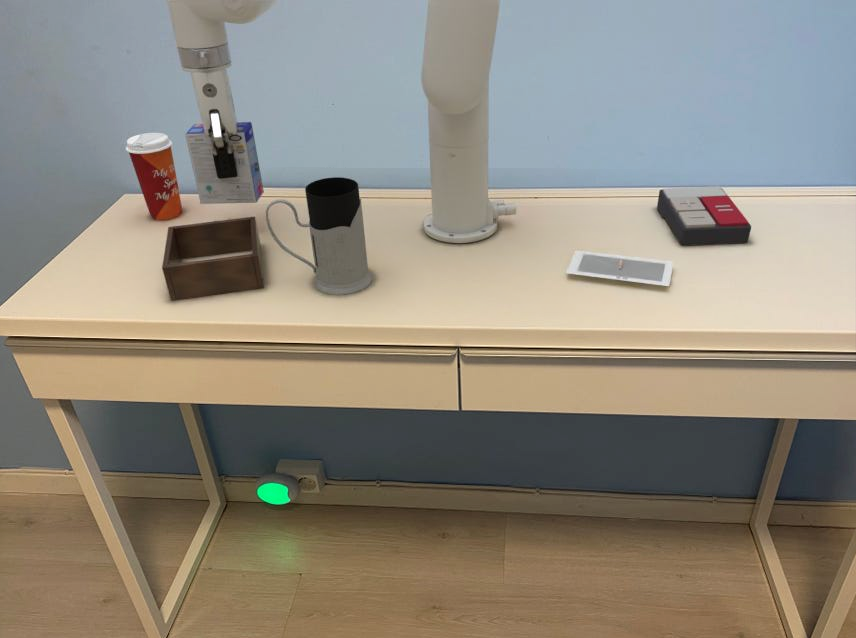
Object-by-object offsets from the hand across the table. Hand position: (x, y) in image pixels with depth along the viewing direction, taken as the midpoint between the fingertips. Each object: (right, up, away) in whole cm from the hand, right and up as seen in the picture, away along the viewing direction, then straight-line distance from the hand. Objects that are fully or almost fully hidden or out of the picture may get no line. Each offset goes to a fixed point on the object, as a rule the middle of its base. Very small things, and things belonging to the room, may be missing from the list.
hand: (227, 168), depth 125 cm
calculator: (+79, -9, +2) cm, 80 cm away
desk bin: (+1, -18, -7) cm, 19 cm away
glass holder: (+18, -20, -10) cm, 29 cm away
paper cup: (-15, -5, +13) cm, 20 cm away
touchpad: (+63, -19, -11) cm, 67 cm away
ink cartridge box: (0, -4, +3) cm, 5 cm away
